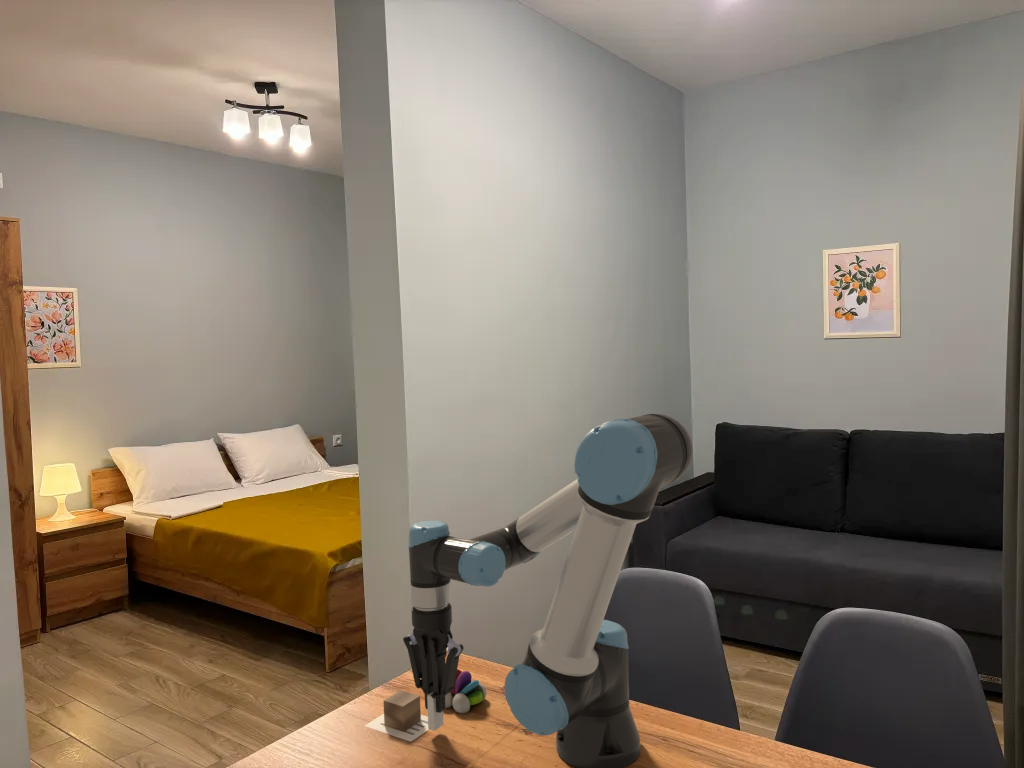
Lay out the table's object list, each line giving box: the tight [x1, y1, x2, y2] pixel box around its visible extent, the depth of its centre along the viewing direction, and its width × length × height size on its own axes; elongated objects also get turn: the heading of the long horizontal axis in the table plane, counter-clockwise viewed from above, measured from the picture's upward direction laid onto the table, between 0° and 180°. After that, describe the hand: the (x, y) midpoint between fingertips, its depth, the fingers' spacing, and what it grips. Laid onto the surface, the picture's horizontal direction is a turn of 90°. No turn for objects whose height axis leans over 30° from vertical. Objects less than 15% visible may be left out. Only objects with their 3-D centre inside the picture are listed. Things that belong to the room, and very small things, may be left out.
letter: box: [364, 713, 430, 742], centre depth 148 cm, size 12×9×1 cm
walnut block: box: [383, 690, 422, 732], centre depth 147 cm, size 5×5×5 cm
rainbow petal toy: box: [445, 668, 488, 714], centre depth 155 cm, size 8×10×7 cm
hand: (435, 726), depth 143 cm, fingers closed
